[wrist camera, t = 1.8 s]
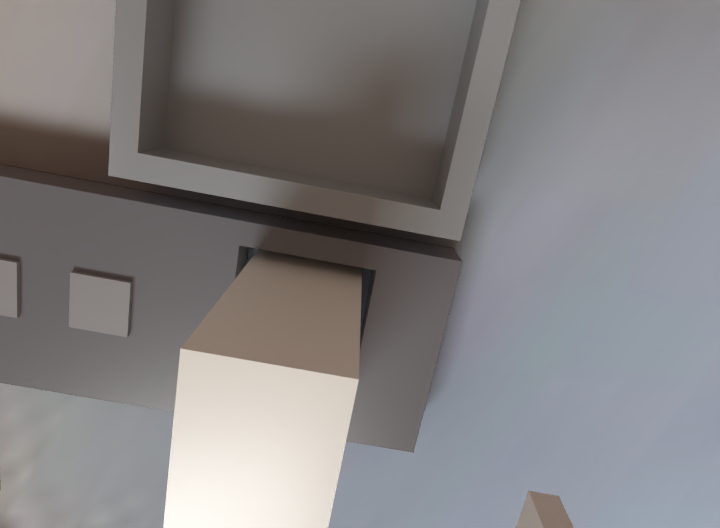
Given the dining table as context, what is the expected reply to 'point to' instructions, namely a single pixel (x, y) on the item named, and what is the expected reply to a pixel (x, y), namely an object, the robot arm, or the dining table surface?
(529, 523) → the robot arm
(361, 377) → the power strip
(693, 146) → the dining table surface
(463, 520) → the dining table surface
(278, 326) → the block
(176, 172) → the tray
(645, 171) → the dining table surface
